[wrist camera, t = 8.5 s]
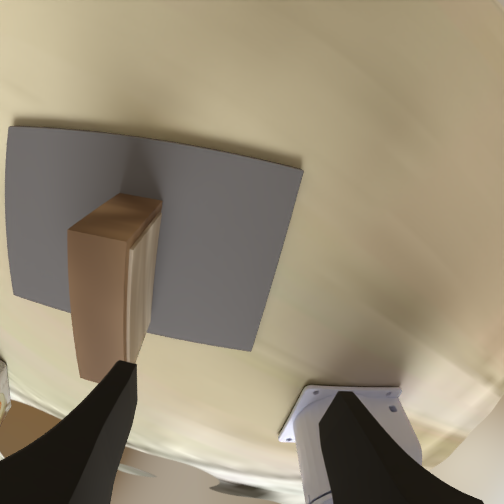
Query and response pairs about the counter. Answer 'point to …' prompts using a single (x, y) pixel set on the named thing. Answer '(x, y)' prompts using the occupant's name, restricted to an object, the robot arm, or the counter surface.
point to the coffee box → (4, 392)
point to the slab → (112, 281)
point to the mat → (171, 227)
